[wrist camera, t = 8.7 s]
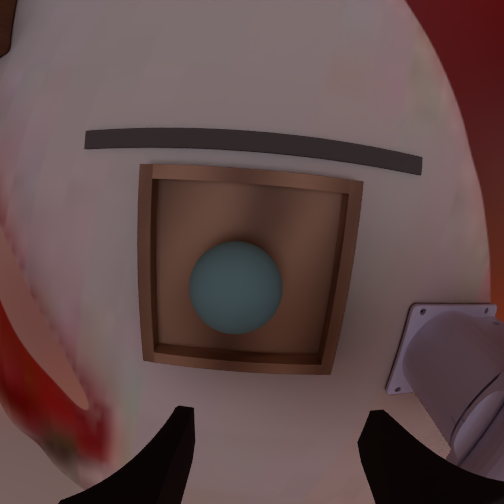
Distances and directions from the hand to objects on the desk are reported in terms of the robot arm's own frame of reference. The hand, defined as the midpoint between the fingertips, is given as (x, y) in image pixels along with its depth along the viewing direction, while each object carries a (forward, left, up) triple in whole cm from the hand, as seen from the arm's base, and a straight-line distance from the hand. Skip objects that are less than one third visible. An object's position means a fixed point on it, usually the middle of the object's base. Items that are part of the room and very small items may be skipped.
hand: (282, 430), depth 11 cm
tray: (+2, -3, -10) cm, 11 cm away
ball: (+2, -3, -7) cm, 8 cm away
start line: (+2, -11, -10) cm, 15 cm away
